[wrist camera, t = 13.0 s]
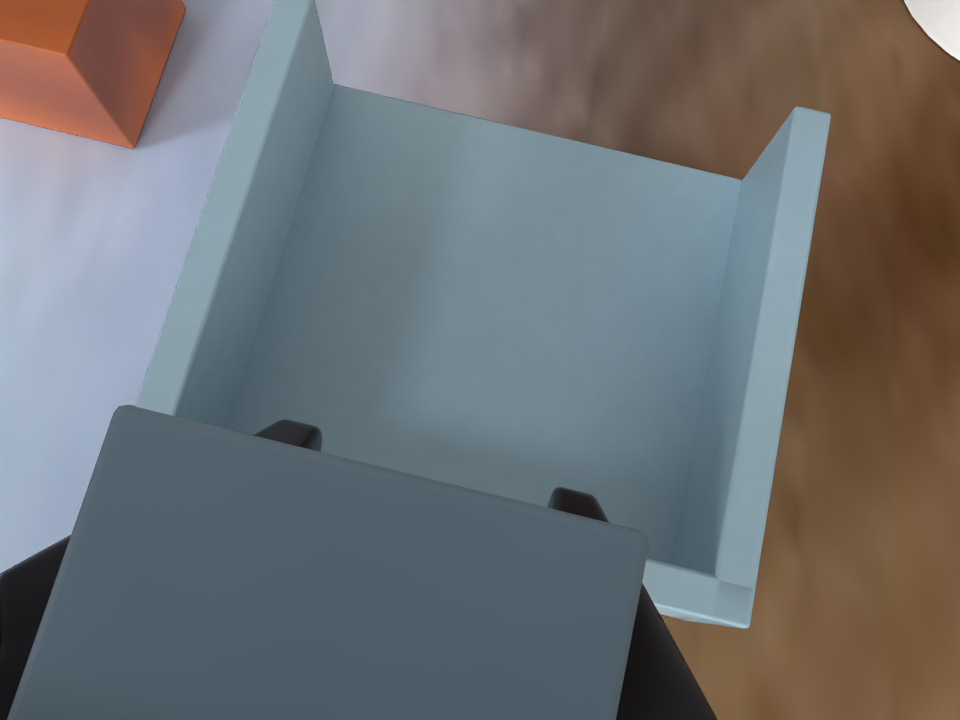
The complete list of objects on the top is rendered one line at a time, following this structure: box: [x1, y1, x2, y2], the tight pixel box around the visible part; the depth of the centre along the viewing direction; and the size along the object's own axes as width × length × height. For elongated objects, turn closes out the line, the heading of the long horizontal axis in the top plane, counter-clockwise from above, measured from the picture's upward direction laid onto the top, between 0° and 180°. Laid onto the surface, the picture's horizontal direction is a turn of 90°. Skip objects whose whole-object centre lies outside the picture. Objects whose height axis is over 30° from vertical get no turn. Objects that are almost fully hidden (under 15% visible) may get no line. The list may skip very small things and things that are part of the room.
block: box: [0, 0, 185, 149], centre depth 20 cm, size 4×4×4 cm
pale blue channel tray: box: [7, 0, 831, 720], centre depth 11 cm, size 10×9×12 cm
